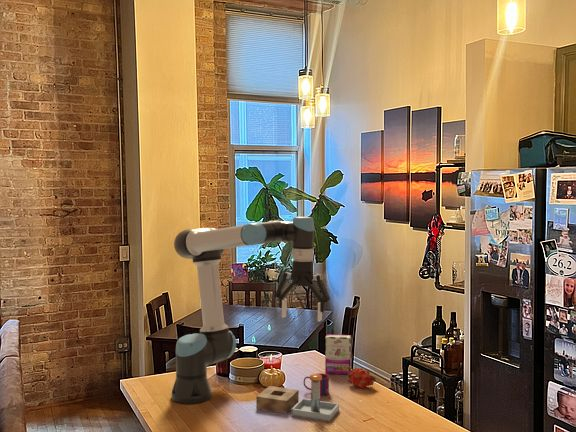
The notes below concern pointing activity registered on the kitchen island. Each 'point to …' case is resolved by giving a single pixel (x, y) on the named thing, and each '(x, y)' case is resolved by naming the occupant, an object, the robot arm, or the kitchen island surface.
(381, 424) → the kitchen island surface
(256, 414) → the kitchen island surface
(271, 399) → the socket block
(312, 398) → the pin
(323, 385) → the mug
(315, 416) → the tray
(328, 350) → the candy bar box
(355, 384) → the dragon fruit
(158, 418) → the kitchen island surface
